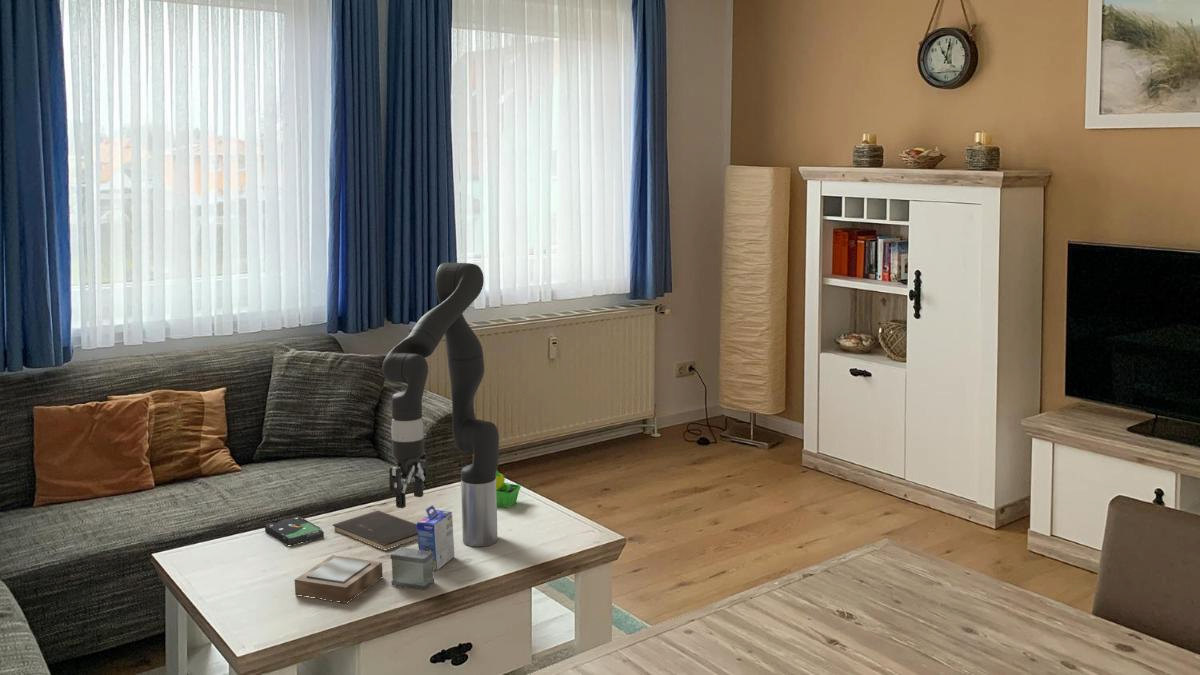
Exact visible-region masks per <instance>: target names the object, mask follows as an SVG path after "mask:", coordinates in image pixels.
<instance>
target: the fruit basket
mask: <svg viewBox="0 0 1200 675" xmlns="http://www.w3.org/2000/svg"><path fill="white" fill-rule="evenodd" d="M505 480H506V478H505V476H504V474H502V473H500V472H499V471H498V470H497V471H496V500H497V507H502V508H503V507H504V508H510V507H511V506H512V505H514V504H515V503H517V501H518V496H519V492H520V490H521V487H522V485H520V484H513V483H509V482H505Z"/></svg>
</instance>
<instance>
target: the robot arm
mask: <svg viewBox="0 0 1200 675" xmlns="http://www.w3.org/2000/svg"><path fill="white" fill-rule="evenodd" d="M484 280H485V279H484V272H483V270H482V268H481V267H480V266H479V265H477V264H476V263H470V262H469V263H468V262H443V263H440V264H439V266H438V267H437V269H436V272H435V289H436V295H437V300H438V305H437V306H435V307H433V308H432V309H430V310H428V311H427V312H425V313H424V314H423V316H421V317H420V318H419V320H417V322H416V323H415V325H414V326H413V328H412V329H411V331H410V333H409V334H408V336H406V337H405V338H403V339H402V340H401V341H400V342H399V343H398V344H397V345H395V346H394V347H393V348H392V349H391V350H390V351H389V352H388V353H387V354H386V356H385V358H384V359H383V362H382V368H381V369H382V374H383V376H384V378H385V379H386V380H388V381H390V382H394V383H402V384H407V388H406V390H403V391H398V392H396V393H394V394H393V395H392V396H391V426H390V429H391V430H390V432H391V454H392V457H393V458H395V459H396V460H397V463H396V466H390V467H389V470H388V472H389V473H388V474H389V478H388V479H389V480H388V481H389V483H388V484H389V492H390V493H395V507H396V508H398V509H404V508H406V507H407V504H406V503H407V502H406V500H407V499H406V489H407V486H408V485H409V484H410V483H411V482H410V481H411V479H412V480H413V497H416V498H422V497H424V481H425V480H426V479H425V478H426V477H428V476H429V467H428V466H429V465H428V453H425V429H424V428H425V427H424V420H423V406H422V404H423V402H422V401H423V395H424V391H425V386H426V382H427V379H428V373H429V364H428V361H427V359H426V358H429V356H431V355H432V354H433V353H434V352H435V350H436V348H437V347H438V345H439V344H440V342H441V340H442V338H443V337H445V338H444V339H445V347H446V359H447V367H448V368H447V369H448V374H449V381H450V392H451V402H452V403H451V405H452V407H451V408H452V414H451V415H452V439H453V442H454V445H455V448H456V449H457V450H458V451H460V452H462V453H465V454H471V455H473V463H471V464H468V465H466V466H463V467H462V469H461V470H460V487H461V488H460V489H461V491H460V492H461V521H462V522H461V525H462V526H461V527H462V528H461V529H462V543H463V544H465V545H466V546H470V547H486V546H490V545H493V544H495V543H496V542H497V541H498V506H497V500H496V471H498V467H499V459H500V458H499V454H500V453H499V452H500V434H499V429H498V428H497V426H496V424H495V423H494V422H491V421H488V420H482V419H478V418H476V415H475V414H476V413H475V407H474V406H475V405H474V403H475V401H474V400H475V396H476V393H477V391H478V389H479V387H480V385H481V383H482V380H483V378H484V374H485V362H484V361H485V360H484V352H483V350H484V349H483V346H482V343H481V341H480V340H479V338H478V336H477V335H476V333H475V332H474V331H473V329H472V327H471V326H470V325H469V323H468V322H467V320H466V319H465V316H464V315H463V314H464V313H465V311H466V310H467V309H468V308H469V307H470V306H471V305H472V304H473V303H474V301H475V300H476V299H477V298H479V295H480V294H481V292H482V290H483V287H484Z"/></svg>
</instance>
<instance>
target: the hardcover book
mask: <svg viewBox="0 0 1200 675" xmlns="http://www.w3.org/2000/svg"><path fill="white" fill-rule="evenodd" d="M332 526H333V527H334V531H335V530H336V531H335V532H337V531H338V533H340V532H341V533H340V534H342V533H344V534H343V535H345V534H347V535H349V536H348V537H350V536H352V537H354V538H353V539H355V538H357V539H360V540H362V541H365V542H367V543H370V544H372V545H375V546H377V547H380V548H382V549H388V548H391V547H394V546H397V545H400V544H403V545H405V544H404V543H406V544H408V543H407V542H409V541H412V540H414V541H416V540H415V539H417V540H418V532H417V523H415V522H412V521H409V520H406V519H405V518H401V517H397V516H395V515H392V514H390V513H387V512H384V511H382V510H379V509H378V510H375V511H372V512H368V513H366V514H362V515H359V516H356V517H352V518H350V519H346V520H343V521H339V522H337V523H333V524H332ZM347 535H346V536H347ZM352 537H351V538H352ZM357 539H356V540H357ZM360 540H359V541H360ZM362 541H361V542H362ZM365 542H364V543H365ZM412 542H413V541H412ZM367 543H366V544H367ZM409 543H410V542H409ZM370 544H369V545H370ZM372 545H371V546H372ZM375 546H374V547H375ZM400 546H401V545H400ZM377 547H376V548H377ZM397 547H398V546H397ZM380 548H379V549H380ZM394 548H395V547H394ZM382 549H381V550H382Z"/></svg>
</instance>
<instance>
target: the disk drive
mask: <svg viewBox="0 0 1200 675" xmlns="http://www.w3.org/2000/svg"><path fill="white" fill-rule="evenodd" d="M264 530H265V533H266V534H268V535H270V536H271V537H272V538H275V539H276V540H279V541H280V542H281V541H282V543H283V542H284V543H285V544H284V543H283V544H284V545H286V544H287V545H286V546H288V545H293V546H295V545H294V544H297V545H299V544H298V543H301V542H304V543H307V542H306V541H308V542H311V541H310V540H312V541H315V540H318V538H319V539H322V538H321V537H323V538H324V537H325V535H324V534H325V533H324V531H323V529H322V528H321V527H320V526H317V525H316V524H314V523H313V522H310V521H308V520H307V519H305V518H303V517H302V516H299V515H297V516H294V517H290V518H285V519H280V520H279V521H277V522H276V523H274V522H269V523H265V524H264ZM314 539H315V540H314ZM301 544H302V543H301Z"/></svg>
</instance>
